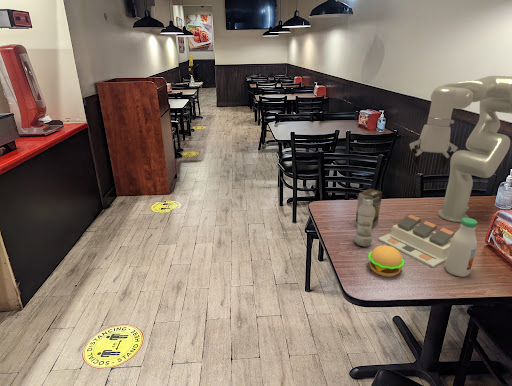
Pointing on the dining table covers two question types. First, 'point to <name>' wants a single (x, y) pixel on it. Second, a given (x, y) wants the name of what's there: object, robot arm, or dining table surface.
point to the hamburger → (386, 261)
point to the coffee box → (376, 204)
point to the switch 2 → (441, 236)
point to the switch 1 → (409, 222)
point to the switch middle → (425, 229)
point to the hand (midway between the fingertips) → (428, 166)
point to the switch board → (414, 253)
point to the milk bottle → (462, 249)
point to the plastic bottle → (365, 222)
